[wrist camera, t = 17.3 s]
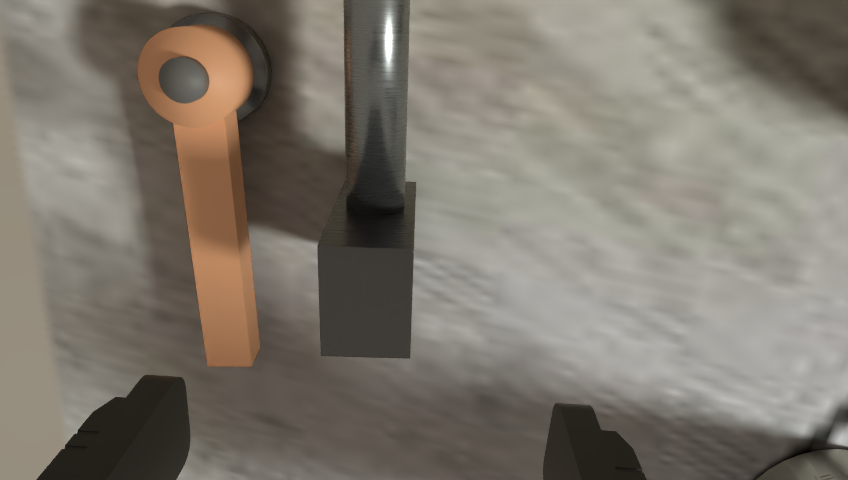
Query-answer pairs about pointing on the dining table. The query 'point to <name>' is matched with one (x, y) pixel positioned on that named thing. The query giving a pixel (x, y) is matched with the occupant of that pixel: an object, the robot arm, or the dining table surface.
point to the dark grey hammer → (371, 194)
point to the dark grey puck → (252, 47)
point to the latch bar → (210, 175)
